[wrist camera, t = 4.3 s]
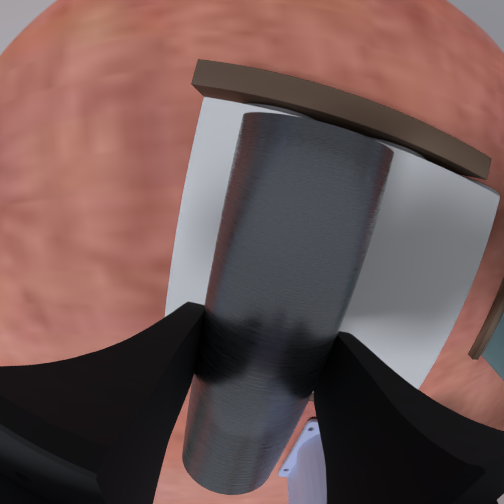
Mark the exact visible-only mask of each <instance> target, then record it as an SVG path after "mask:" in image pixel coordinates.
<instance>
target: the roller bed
mask: <svg viewBox="0 0 504 504" xmlns="http://www.w3.org/2000/svg"><path fill="white" fill-rule="evenodd" d="M191 84H192V85H193V86H194V87H195V88H196V89H197V90H198V91H199V92H200V93H201V94H202V95H203V96H204V97H209V98H215V99H221V100H227V101H232V102H237V103H242V104H247V105H252V106H257V107H261V108H266V109H270V110H275V111H279V112H283V113H287V114H291V115H295V116H299V117H302V118H307V119H311V120H315V121H320V122H323V123H327V124H331V125H334V126H338V127H341V128H344V129H347V130H350V131H353V132H356V133H359V134H361V135H364V136H366V137H369V138H371V139H373V140H376V141H379V142H382V143H384V144H387V145H390V146H392V147H395V148H397V149H400V150H403V151H405V152H408V153H410V154H413V155H415V156H417V157H420V158H422V159H425V160H427V161H429V162H431V163H434V164H436V165H438V166H440V167H443V168H445V169H447V170H449V171H451V172H453V173H456V174H459V175H460V176H461V175H465V176H471V177H476V178H481V179H486V180H487V178H488V173H489V168H490V163H491V158H490V157H488V156H487V155H485V154H483V153H482V152H480V151H478V150H476V149H475V148H473V147H471V146H469V145H467V144H466V143H464V142H462V141H460V140H458V139H456V138H454V137H452V136H451V135H449V134H447V133H445V132H443V131H441V130H439V129H436V128H434V127H432V126H430V125H428V124H426V123H424V122H422V121H419V120H417V119H415V118H413V117H410V116H408V115H406V114H403V113H401V112H399V111H396V110H394V109H391V108H389V107H386V106H384V105H381V104H379V103H376V102H373V101H370V100H368V99H365V98H362V97H359V96H356V95H354V94H351V93H348V92H345V91H341V90H338V89H335V88H332V87H329V86H325V85H322V84H319V83H315V82H311V81H308V80H304V79H300V78H296V77H292V76H288V75H284V74H280V73H276V72H271V71H267V70H262V69H257V68H252V67H247V66H241V65H235V64H229V63H223V62H216V61H209V60H201V59H198V61H197V65H196V68H195V72H194V76H193V79H192V83H191ZM462 177H464V176H462ZM464 178H466V179H468V180H470V181H472V182H474V183H476V184H478V185H480V186H482V187H483V188H485V189H487V190H489V191H491V192H493V193H495V194H496V195H498V196H499V195H500V194H499V193H498V192H497V191H495V190H494V189H492V188H490V187H488V186H486V185H484V184H482V183H480V182H477V181H475V180H472V179H470V178H467V177H464ZM503 310H504V279H503V282H502V284H501V287H500V289H499V292H498V294H497V297H496V299H495V301H494V303H493V306H492V308H491V310H490V312H489V315H488V317H487V319H486V321H485V323H484V325H483V327H482V329H481V331H480V333H479V335H478V337H477V339H476V341H475V343H474V345H473V346H472V348H471V350H470V352H469V354H468V355H469V356H470V357H471V358H472V359H477V360H478V359H479V357H480V355H481V353H482V352H483V350H484V348H485V346H486V344H487V342H488V340H489V338H490V337H491V335H492V333H493V331H494V329H495V327H496V325H497V323H498V320H499V318H500V316H501V314H502V312H503ZM309 401H314V394H313V393H312V395H311V397H310V399H309Z"/></svg>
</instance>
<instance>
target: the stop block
mask: <svg viewBox="0 0 504 504" xmlns="http://www.w3.org/2000/svg"><path fill="white" fill-rule="evenodd" d="M482 356H483V357H484V359H485V360H486V361H487V362H488V363H489V364H490V365H491V367H492V368H493V369H494V370H495V371H496V372H497V373H498V375H499V376H500V377H501V378H502V379H503V381H504V312H503V314H502V316H501V319H500V321H499V323H498V325H497V327H496V329H495V331H494V333H493V335H492V337H491V339H490V341H489V342H488V344H487V346H486V348H485V350H484V352H483V353H482Z"/></svg>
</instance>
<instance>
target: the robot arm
mask: <svg viewBox="0 0 504 504" xmlns="http://www.w3.org/2000/svg"><path fill="white" fill-rule="evenodd" d="M203 315H204V305H202V304H198V303H193V302H189V301H188V302H186V303H184V304H183V305H181V306H180V307H179V308H177V309H176V310H175V311H173V312H172V313H170V314H169V315H167V316H166V317H165V318H163V319H161V320H160V321H158V322H157V323H155V324H154V325H152V326H150V327H149V328H147V329H145V330H144V331H142V332H140V333H138V334H136V335H134V336H133V337H131V338H129V339H127V340H124V341H122V342H120V343H117V344H115V345H112V346H110V347H107V348H105V349H102V350H99V351H96V352H92V353H89V354H85V355H82V356H78V357H75V358H71V359H66V360H61V361H56V362H50V363H44V364H36V365H25V366H0V504H153V500H154V496H155V491H156V487H157V483H158V479H159V475H160V471H161V467H162V463H163V459H164V456H165V452H166V448H167V445H168V442H169V439H170V436H171V433H172V430H173V428H174V425H175V423H176V420H177V418H178V415H179V413H180V410H181V408H182V405H183V403H184V400H185V398H186V395H187V393H188V390H189V388H190V385H191V383H192V379H193V376H194V371H195V365H196V358H197V352H198V346H199V339H200V333H201V327H202V321H203ZM313 394H314V405H315V411H316V416H317V419H311V420H309V421H308V422H307V423H306V425H305V427H304V429H303V430H302V432H301V434H300V436H299V438H298V439H297V441H296V443H295V445H294V446H293V448H292V450H291V451H290V453H289V455H288V457H287V458H286V460H285V462H284V463H283V465H282V466H281V468H280V470H279V471H278V475H279V476H281V477H287V479H288V498H289V504H498V502H497V499H498V498H499V497H500V496H501V495H502V494H504V431H501V430H497V429H494V428H491V427H488V426H486V425H483V424H480V423H478V422H475V421H473V420H471V419H468V418H466V417H464V416H462V415H460V414H458V413H456V412H454V411H452V410H450V409H448V408H446V407H445V406H443V405H441V404H439V403H438V402H436V401H434V400H433V399H431V398H430V397H428V396H427V395H425V394H424V393H422V392H421V391H419V390H418V389H417V388H415V387H414V386H412V385H411V384H410V383H409V382H407V381H406V380H405V379H403V378H402V377H401V376H400V375H398V374H397V373H396V372H395V371H394V370H392V369H391V368H390V367H389V366H388V365H387V364H386V363H384V362H383V361H382V360H381V359H380V358H379V357H378V356H377V355H375V354H374V353H373V352H372V351H371V350H370V349H369V348H368V347H366V346H365V345H364V344H363V343H362V342H361V341H360V340H358V339H357V338H356V337H355V336H353V335H352V334H350V333H348V332H341V331H339V332H338V334H337V337H336V339H335V342H334V344H333V347H332V349H331V352H330V354H329V356H328V359H327V361H326V363H325V366H324V368H323V370H322V373H321V375H320V377H319V379H318V382H317V384H316V386H315V388H314V390H313ZM311 427H312V428H311Z"/></svg>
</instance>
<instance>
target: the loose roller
mask: <svg viewBox="0 0 504 504" xmlns="http://www.w3.org/2000/svg"><path fill="white" fill-rule="evenodd" d="M393 155H394V152H393V151H392V150H391V149H390V148H389V147H387V146H385V145H383V144H382V143H380V142H378V141H376V140H373V139H371V138H369V137H366V136H364V135H361V134H359V133H356V132H353V131H350V130H347V129H344V128H341V127H338V126H334V125H331V124H327V123H323V122H320V121H315V120H311V119H307V118H302V117H296V116H291V115H284V114H277V113H266V112H249V113H244V114H243V117H242V121H241V125H240V130H239V134H238V139H237V143H236V148H235V152H234V157H233V161H232V166H231V171H230V175H229V180H228V185H227V189H226V194H225V199H224V204H223V209H222V214H221V219H220V224H219V229H218V234H217V239H216V244H215V250H214V255H213V260H212V266H211V271H210V277H209V282H208V288H207V293H206V299H205V305H204V315H203V321H202V327H201V333H200V339H199V346H198V352H197V358H196V365H195V371H194V376H193V379H192V385H191V392H190V399H189V406H188V413H187V421H186V428H185V436H184V443H183V451H182V459H183V464H184V466H185V469H186V471H187V472H188V474H189V475H190V476H191V477H192V478H193V479H194V480H195V481H196V482H197V483H198V484H200V485H201V486H203V487H204V488H206V489H208V490H211V491H213V492H217V493H220V494H227V495H238V494H244V493H248V492H251V491H253V490H255V489H257V488H259V487H260V486H261V485H263V484H264V483H265V481H266V480H267V479H268V477H269V476H270V474H271V472H272V470H273V469H274V467H275V465H276V463H277V461H278V460H279V458H280V456H281V454H282V452H283V450H284V449H285V447H286V445H287V443H288V441H289V439H290V437H291V435H292V433H293V431H294V429H295V427H296V425H297V424H298V422H299V420H300V417H301V415H302V413H303V411H304V409H305V407H306V405H307V403H308V401H309V399H310V397H311V395H312V392H313V390H314V388H315V386H316V384H317V382H318V379H319V377H320V375H321V373H322V370H323V368H324V366H325V363H326V361H327V359H328V356H329V354H330V352H331V349H332V347H333V344H334V342H335V339H336V337H337V334H338V332H339V329H340V327H341V324H342V322H343V319H344V317H345V314H346V311H347V309H348V306H349V303H350V301H351V298H352V295H353V292H354V289H355V287H356V284H357V281H358V278H359V275H360V272H361V269H362V266H363V263H364V260H365V257H366V254H367V251H368V248H369V244H370V241H371V238H372V235H373V231H374V228H375V225H376V221H377V218H378V214H379V211H380V207H381V203H382V200H383V196H384V192H385V188H386V184H387V180H388V176H389V172H390V168H391V164H392V160H393Z"/></svg>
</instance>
